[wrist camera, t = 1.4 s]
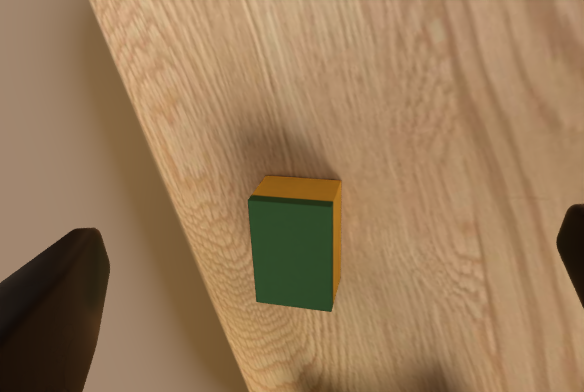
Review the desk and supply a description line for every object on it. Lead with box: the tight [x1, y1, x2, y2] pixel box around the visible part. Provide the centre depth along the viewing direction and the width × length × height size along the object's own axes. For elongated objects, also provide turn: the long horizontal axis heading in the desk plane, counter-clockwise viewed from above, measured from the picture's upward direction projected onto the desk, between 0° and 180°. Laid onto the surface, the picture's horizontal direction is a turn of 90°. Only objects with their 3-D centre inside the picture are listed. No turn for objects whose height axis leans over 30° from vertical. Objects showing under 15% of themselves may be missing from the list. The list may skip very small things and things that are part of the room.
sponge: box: [248, 176, 341, 312], centre depth 25 cm, size 4×6×3 cm, turn 2°
